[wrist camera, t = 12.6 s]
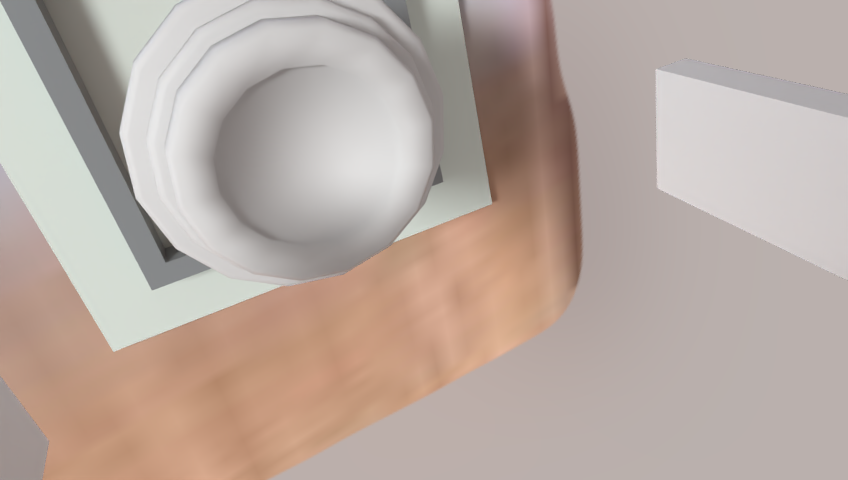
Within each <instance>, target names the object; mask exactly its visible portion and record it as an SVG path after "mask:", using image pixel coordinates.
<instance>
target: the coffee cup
mask: <svg viewBox="0 0 848 480" xmlns="http://www.w3.org/2000/svg"><path fill="white" fill-rule="evenodd" d="M119 134H120V138H121V142H122V146H123V150H124V154H125V158H126V162H127V166H128V170H129V174H130V178H131V182H132V186H133V189H134V193H135V197H136V200H137V201H138V202H139V203H140V205H141V206H142V207H143V208H144V210H145V211H146V212H147V213H148V215H149V216H150V217H151V218H152V220H153V221H154V222H155V223H156V225H157V226H158V227H159V228H160V230H161V231H162V232H163V233H164V235H165V236H166V237H167V238H168V240H169V241H170V242H171V243H172V245H173V246H174V247H175V248H176V249H177V250H179V251H181V252H183V253H185V254H186V255H188V256H190V257H192V258H194V259H196V260H197V261H199V262H201V263H203V264H205V265H206V266H208V267H210V268H212V269H214V270H216V271H217V272H219V273H221V274H223V275H225V276H227V277H228V278H231V279H238V280H246V281H253V282H260V283H268V284H275V285H283V286H292V285H297V284H301V283H306V282H311V281H315V280H320V279H324V278H329V277H334V276H338V275H343V274H345V273H347V272H348V271H350V270H352V269H353V268H355V267H356V266H358V265H360V264H361V263H363V262H365V261H366V260H368V259H370V258H371V257H373V256H374V255H376V254H378V253H379V252H381V251H383V250H384V249H386V248H388V247H389V246H391V245H392V243H393V242H394V241H395V240H396V238H397V237H398V236H399V235H400V234H401V232H402V231H403V230H404V229H405V228H406V226H407V225H408V224H409V223H410V221H411V220H412V219H413V218H414V217H415V215H416V214H417V213H418V212H419V210H420V209H421V208H422V207H423V206H424V204H425V203H426V200H427V197H428V194H429V192H430V189H431V186H432V183H433V181H434V178H435V175H436V172H437V169H438V167H439V164H440V161H441V158H442V156H443V153H444V123H443V92H442V90H441V88H440V85H439V83H438V80H437V78H436V75H435V73H434V71H433V68H432V66H431V63H430V61H429V58H428V56H427V53H426V51H425V49H424V46H423V44H422V41H421V39H420V38H419V37H418V36H417V35H416V34H415V33H414V32H413V31H412V30H411V29H410V28H409V27H408V26H407V25H406V24H405V23H404V22H403V21H402V20H401V19H400V18H399V17H398V16H397V15H396V14H395V13H394V12H393V11H392V10H391V9H390V8H389V7H388V6H387V5H386V4H385V3H384V2H383V1H382V0H183V1H181V2H179V3H177V4H176V5H175V6H174V7H173V9H172V10H171V11H170V13H169V14H168V15H167V17H166V18H165V19H164V20H163V22H162V23H161V24H160V26H159V27H158V28H157V30H156V31H155V32H154V34H153V35H152V36H151V38H150V39H149V40H148V42H147V43H146V44H145V46H144V47H143V48H142V50H141V51H140V52H139V54H138V55H137V56H136V58H135V59H134V60H133V65H132V70H131V75H130V80H129V85H128V90H127V95H126V100H125V105H124V110H123V115H122V120H121V125H120V132H119Z"/></svg>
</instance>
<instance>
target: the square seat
mask: <svg viewBox="0 0 848 480" xmlns="http://www.w3.org/2000/svg"><path fill="white" fill-rule="evenodd" d="M181 1H183V0H0V163H1V165H2V167H3V168H4V170H5V172H6V173H7V175H8V177H9V178H10V180H11V182H12V183H13V185H14V187H15V188H16V190H17V192H18V193H19V195H20V197H21V198H22V200H23V202H24V203H25V205H26V207H27V208H28V210H29V212H30V213H31V215H32V217H33V218H34V220H35V222H36V223H37V225H38V227H39V228H40V230H41V232H42V233H43V235H44V237H45V238H46V240H47V242H48V243H49V245H50V247H51V248H52V250H53V252H54V253H55V255H56V257H57V258H58V260H59V262H60V263H61V265H62V267H63V268H64V270H65V272H66V273H67V275H68V277H69V278H70V280H71V282H72V283H73V285H74V287H75V288H76V290H77V292H78V293H79V295H80V297H81V298H82V300H83V302H84V303H85V305H86V307H87V308H88V310H89V312H90V313H91V315H92V317H93V318H94V320H95V322H96V323H97V325H98V327H99V328H100V330H101V332H102V333H103V335H104V337H105V338H106V340H107V342H108V343H109V345H110V347H111V348H112V350H113V352H114V351H117V350H119V349H122V348H124V347H127V346H130V345H132V344H135V343H137V342H140V341H142V340H145V339H147V338H150V337H153V336H155V335H158V334H160V333H163V332H165V331H168V330H171V329H173V328H176V327H178V326H181V325H183V324H186V323H188V322H191V321H194V320H196V319H199V318H201V317H204V316H206V315H209V314H212V313H214V312H217V311H219V310H222V309H224V308H227V307H229V306H232V305H235V304H237V303H240V302H242V301H245V300H247V299H250V298H252V297H255V296H258V295H260V294H263V293H265V292H268V291H270V290H273V289H276V288H278V287H281V286H283V285H275V284H268V283H260V282H253V281H246V280H238V279H231V278H228V277H227V276H225V275H223V274H221V273H219V272H217V271H216V270H214V269H212V268H210V267H208V266H206V265H205V264H203V263H201V262H199V261H197V260H196V259H194V258H192V257H190V256H188V255H186V254H185V253H183V252H181V251H179V250H177V249H176V248H175V247H174V246H173V245H172V243H171V242H170V241H169V240H168V238H167V237H166V236H165V235H164V233H163V232H162V231H161V230H160V228H159V227H158V226H157V225H156V223H155V222H154V221H153V220H152V218H151V217H150V216H149V215H148V213H147V212H146V211H145V210H144V208H143V207H142V206H141V205H140V203H139V202H138V201H137V200H136V197H135V193H134V189H133V186H132V182H131V178H130V174H129V170H128V166H127V162H126V158H125V154H124V150H123V146H122V142H121V138H120V134H119V132H120V125H121V120H122V115H123V110H124V105H125V100H126V95H127V90H128V85H129V80H130V75H131V70H132V65H133V60H134V59H135V58H136V56H137V55H138V54H139V52H140V51H141V50H142V48H143V47H144V46H145V44H146V43H147V42H148V40H149V39H150V38H151V36H152V35H153V34H154V32H155V31H156V30H157V28H158V27H159V26H160V24H161V23H162V22H163V20H164V19H165V18H166V17H167V15H168V14H169V13H170V11H171V10H172V9H173V7H174V6H175V5H176V4H177V3H179V2H181ZM382 1H383V2H384V3H385V4H386V5H387V6H388V7H389V8H390V9H391V10H392V11H393V12H394V13H395V14H396V15H397V16H398V17H399V18H400V19H401V20H402V21H403V22H404V23H405V24H406V25H407V26H408V27H409V28H410V29H411V30H412V31H413V32H414V33H415V34H416V35H417V36H418V37H419V38H420V39H421V41H422V44H423V46H424V49H425V51H426V53H427V56H428V58H429V61H430V63H431V66H432V68H433V71H434V73H435V75H436V78H437V80H438V83H439V85H440V88H441V90H442V92H443V123H444V153H443V156H442V158H441V161H440V164H439V167H438V169H437V172H436V175H435V178H434V181H433V183H432V186H431V189H430V192H429V194H428V197H427V200H426V203H425V204H424V206H423V207H422V208H421V209H420V210H419V212H418V213H417V214H416V215H415V217H414V218H413V219H412V220H411V221H410V223H409V224H408V225H407V226H406V228H405V229H404V230H403V231H402V232H401V234H400V235H399V236H398V237H397V238H396V240H395V241H394V242H396V241H399V240H401V239H404V238H406V237H409V236H411V235H414V234H416V233H419V232H422V231H424V230H427V229H429V228H432V227H434V226H437V225H440V224H442V223H445V222H447V221H450V220H452V219H455V218H457V217H460V216H463V215H465V214H468V213H470V212H473V211H475V210H478V209H480V208H483V207H486V206H488V205H491V204H492V200H491V194H490V188H489V182H488V176H487V170H486V164H485V158H484V152H483V146H482V140H481V134H480V128H479V122H478V116H477V110H476V104H475V98H474V92H473V86H472V80H471V74H470V68H469V62H468V56H467V50H466V44H465V39H464V33H463V27H462V21H461V15H460V9H459V3H458V0H382Z"/></svg>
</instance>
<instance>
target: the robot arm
mask: <svg viewBox="0 0 848 480" xmlns="http://www.w3.org/2000/svg"><path fill="white" fill-rule="evenodd" d="M656 149H657V189H659V190H661V191H663V192H665V193H667V194H670V195H672V196H674V197H676V198H678V199H680V200H682V201H684V202H686V203H688V204H690V205H692V206H694V207H696V208H698V209H700V210H703V211H705V212H707V213H709V214H711V215H713V216H715V217H717V218H719V219H721V220H723V221H725V222H727V223H730V224H731V225H734V226H736V227H738V228H740V229H742V230H744V231H746V232H748V233H750V234H752V235H754V236H756V237H759V238H760V239H763V240H765V241H767V242H769V243H771V244H773V245H775V246H777V247H779V248H781V249H783V250H785V251H787V252H789V253H792V254H793V255H796V256H798V257H800V258H802V259H804V260H806V261H808V262H810V263H812V264H814V265H816V266H818V267H820V268H822V269H825V270H826V271H829V272H831V273H833V274H835V275H837V276H839V277H841V278H843V279H845V280H847V281H848V94H845V93H841V92H836V91H832V90H827V89H823V88H818V87H814V86H809V85H805V84H800V83H796V82H791V81H786V80H782V79H777V78H773V77H768V76H764V75H759V74H754V73H750V72H746V71H741V70H737V69H732V68H728V67H723V66H719V65H714V64H709V63H704V62H700V61H696V60H691V59H687V58H685V59H682V60H680V61H677V62H674V63H671V64H669V65H666V66H663V67H660V68H657V69H656ZM48 445H49V440H48V439H47V438H46V436H45V435H44V434H43V432H42V431H41V430H40V428H39V427H38V426H37V424H36V423H35V422H34V420H33V419H32V418H31V416H30V415H29V414H28V412H27V411H26V410H25V408H24V407H23V406H22V404H21V403H20V402H19V400H18V399H17V398H16V396H15V395H14V394H13V392H12V391H11V390H10V388H9V387H8V386H7V384H6V383H5V382H4V380H3V379H2V378H1V376H0V480H42V478H43V472H44V467H45V461H46V456H47V450H48Z"/></svg>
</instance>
